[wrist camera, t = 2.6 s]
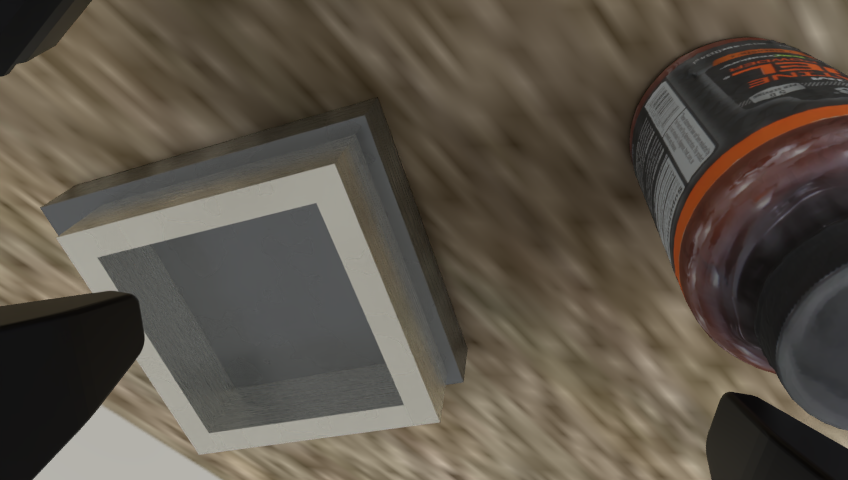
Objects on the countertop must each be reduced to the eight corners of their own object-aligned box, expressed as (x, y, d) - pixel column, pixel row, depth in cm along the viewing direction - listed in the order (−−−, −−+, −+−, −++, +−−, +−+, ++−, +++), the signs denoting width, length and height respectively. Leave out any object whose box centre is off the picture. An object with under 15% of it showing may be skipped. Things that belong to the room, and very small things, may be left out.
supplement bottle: (854, 36, 18) (1264, 201, 8) (789, 218, 21) (1031, 502, 11) (644, 26, 18) (783, 165, 9) (609, 203, 21) (685, 458, 12)
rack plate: (377, 97, 21) (344, 142, 17) (467, 349, 25) (457, 430, 21) (74, 185, 24) (-12, 240, 20) (202, 393, 29) (153, 470, 25)
